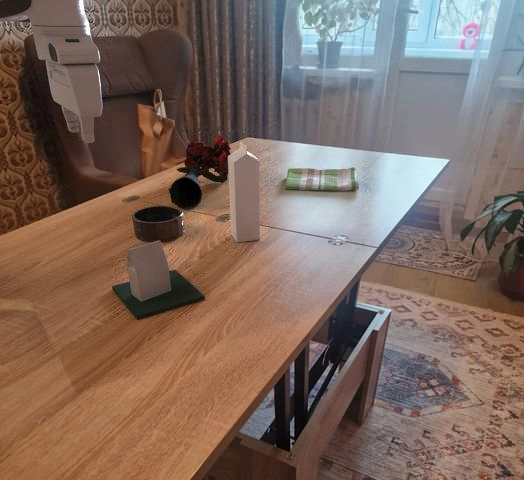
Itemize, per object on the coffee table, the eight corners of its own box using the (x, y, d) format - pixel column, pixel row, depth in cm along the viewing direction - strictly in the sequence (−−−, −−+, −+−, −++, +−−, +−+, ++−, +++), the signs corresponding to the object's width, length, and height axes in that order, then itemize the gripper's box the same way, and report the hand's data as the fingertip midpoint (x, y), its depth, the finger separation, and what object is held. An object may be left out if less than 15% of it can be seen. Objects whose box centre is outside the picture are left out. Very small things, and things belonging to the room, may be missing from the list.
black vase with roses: (194, 235, 141) (206, 191, 169) (241, 194, 134) (244, 155, 161) (154, 195, 134) (172, 156, 161) (200, 150, 126) (211, 117, 154)
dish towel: (358, 192, 149) (360, 181, 147) (284, 190, 151) (285, 179, 149) (355, 177, 163) (356, 166, 161) (287, 175, 165) (288, 164, 163)
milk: (236, 243, 117) (232, 147, 105) (230, 233, 122) (226, 141, 109) (260, 240, 119) (259, 145, 106) (253, 231, 124) (252, 139, 111)
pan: (145, 246, 116) (142, 226, 113) (128, 230, 124) (124, 211, 121) (192, 235, 121) (190, 216, 118) (172, 221, 130) (170, 202, 127)
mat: (136, 319, 88) (136, 316, 88) (112, 289, 98) (111, 285, 98) (204, 299, 95) (204, 295, 94) (175, 272, 104) (175, 269, 104)
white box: (171, 290, 96) (165, 243, 90) (141, 301, 92) (133, 253, 86) (161, 284, 98) (155, 237, 92) (132, 294, 95) (123, 247, 89)
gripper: (31, 43, 85) (50, 128, 93) (59, 51, 71) (78, 150, 79) (68, 42, 88) (83, 125, 96) (102, 51, 74) (116, 146, 82)
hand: (81, 136), depth 87 cm, fingers open, 8 cm apart
